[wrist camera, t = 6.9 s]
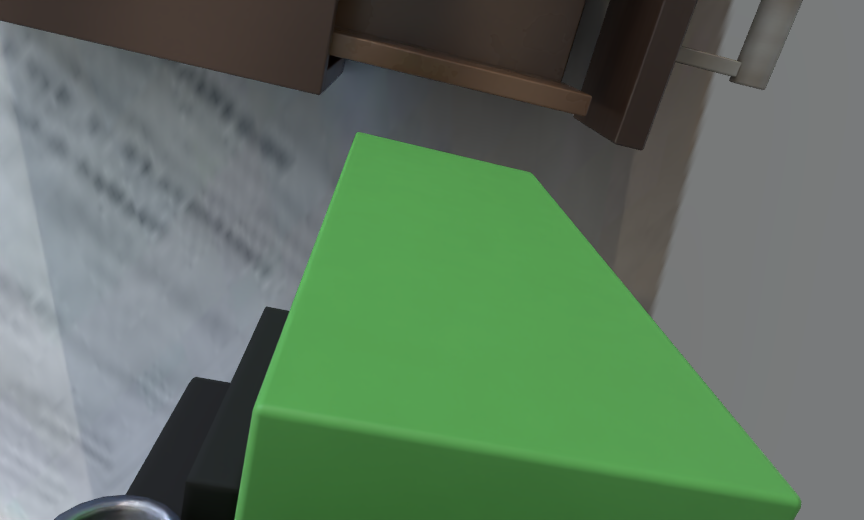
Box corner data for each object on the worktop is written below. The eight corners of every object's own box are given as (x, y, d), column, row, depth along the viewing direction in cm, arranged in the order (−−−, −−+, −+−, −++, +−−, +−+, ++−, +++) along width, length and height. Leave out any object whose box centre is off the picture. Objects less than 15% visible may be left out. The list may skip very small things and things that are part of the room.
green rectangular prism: (533, 172, 14) (809, 503, 4) (454, 426, 16) (526, 982, 7) (356, 130, 13) (251, 405, 4) (302, 399, 16) (160, 961, 6)
